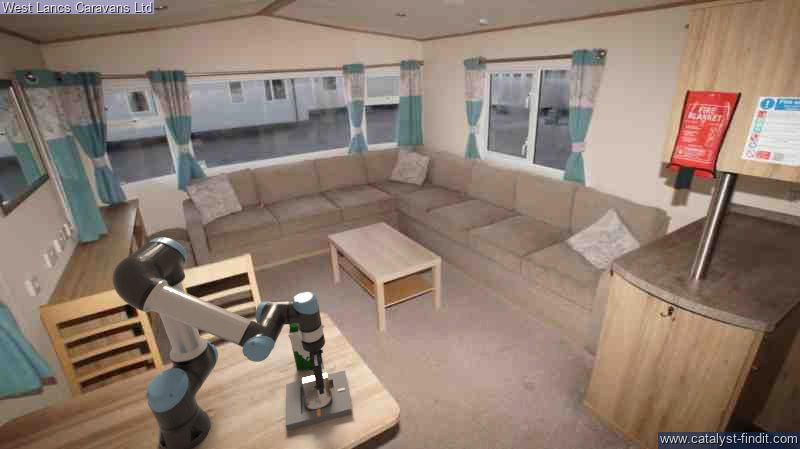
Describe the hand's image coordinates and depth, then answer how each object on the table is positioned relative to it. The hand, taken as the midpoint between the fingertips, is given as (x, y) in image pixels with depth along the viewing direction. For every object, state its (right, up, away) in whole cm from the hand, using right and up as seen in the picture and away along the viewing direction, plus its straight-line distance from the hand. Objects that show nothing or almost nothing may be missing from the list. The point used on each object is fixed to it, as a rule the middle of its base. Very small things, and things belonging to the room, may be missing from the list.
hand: (321, 383), depth 134 cm
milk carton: (-10, -1, +20) cm, 22 cm away
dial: (-2, -8, +3) cm, 8 cm away
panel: (-2, -8, +3) cm, 8 cm away
